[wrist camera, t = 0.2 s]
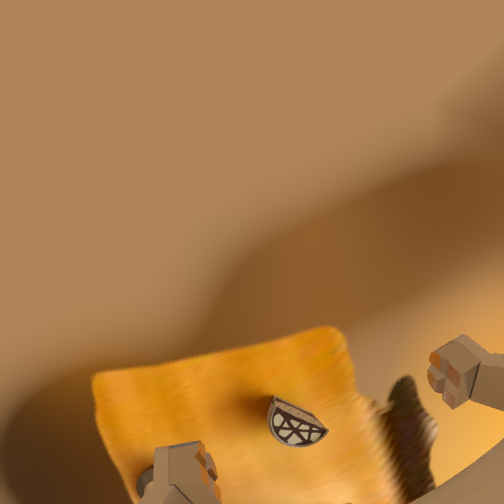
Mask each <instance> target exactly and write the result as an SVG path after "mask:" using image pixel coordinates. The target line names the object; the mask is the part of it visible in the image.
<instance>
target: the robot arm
mask: <svg viewBox="0 0 504 504" xmlns="http://www.w3.org/2000/svg"><path fill="white" fill-rule="evenodd" d="M429 361H430V362H431V363H432V364H431V366H430V368H429V369H428V375H427V377H428V380H429V384H430V385H431V387H432V388H433V390H434V391H435V392H437V393H442V396H443V400H444V401H445V402H446V403H447V405H448V406H449V407H450V408H451V409H455V408H457V407H458V406H460V405H461V404H463V403H464V402H466V401H467V400H469V399H470V400H471V401H474V402H477V403H480V404H483V405H486V406H489V407H492V408H495V409H498V410H501V411H504V354H498V353H493V354H492V355H491V354H490V353H489V352H487V351H486V350H485V349H484V348H482V347H481V346H480V345H478V344H477V343H476V342H474V341H473V340H472V339H470V338H469V337H468V336H466V335H464V334H462V335H460V336H459V337H457V338H455V339H454V340H452V341H450V342H448V343H446V344H445V345H443V346H441V347H440V348H438V349H436V350H435V351H433V352H432V353H431V354H430V357H429ZM217 478H218V476H217V470H216V467H215V463H214V461H213V459H212V457H211V455H210V454H209V453H207V452H205V446H204V445H203V443H202V442H201V440H199V441H194V442H188V443H182V444H176V445H170V446H165V447H158V448H156V449H155V451H154V466H153V488H149V489H148V490H147V491H146V493H145V494H144V495H143V497H142V498H141V500H140V501H139V502H138V504H222V501H221V495H220V488H219V487H218V485H217V484H216V483H215V481H216V479H217ZM409 504H504V438H503V439H502V440H501V441H500V442H499V443H498V444H496V445H495V446H494V447H493V448H491V449H490V450H489V451H488V452H487V453H486V454H484V455H483V456H481V457H480V458H479V459H477V460H476V461H475V462H474V463H472V464H471V465H469V466H468V467H467V468H465V469H464V470H463V471H461V472H460V473H458V474H457V475H455V476H454V477H452V478H451V479H449V480H448V481H446V482H445V483H443V484H442V485H440V486H438V487H437V488H435V489H434V490H432V491H430V492H429V493H427V494H425V495H423V496H422V497H420V498H418V499H417V500H415V501H413V502H411V503H409Z"/></svg>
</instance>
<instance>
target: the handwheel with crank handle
mask: <svg viewBox="0 0 504 504" xmlns="http://www.w3.org/2000/svg"><path fill="white" fill-rule="evenodd" d="M152 479H153V466H151V467H149V468H147V469H145V470H144V471H143V472H142V474H141V475H140V477H139V478H138V481H137V491H138V494H139V496H140V498H142V497H143V495H144V489H145V487H146V485H147V483H148V482H149V481H150V480H152Z"/></svg>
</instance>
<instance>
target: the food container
mask: <svg viewBox="0 0 504 504" xmlns="http://www.w3.org/2000/svg"><path fill="white" fill-rule="evenodd" d="M267 424H268V428H269V430H270V432H271V434H272V435H273V436H274V437H275V438H276V439H277V440H278V441H280V442H281V443H283V444H285V445H287V446H290V447H307V446H311V445H313V444H315V443H317V442H319V441H320V440H322V439H323V438H324V437H325V436H326V435H327V433H328V432H329V429H326V428H325V427H324V426H323V425H322V423H321V422H320V421H319V420H318V419H317V418H316V417H315V416H314V415H313V414H312V413H310V412H308V411H306V410H304V409H301V408H299V407H297V406H295V405H293V404H291V403H289V402H287V401H285V400H282V399H280V398H278V397H276V396H273V398H272V401H271V405H270V407H269V410H268V413H267Z"/></svg>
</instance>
